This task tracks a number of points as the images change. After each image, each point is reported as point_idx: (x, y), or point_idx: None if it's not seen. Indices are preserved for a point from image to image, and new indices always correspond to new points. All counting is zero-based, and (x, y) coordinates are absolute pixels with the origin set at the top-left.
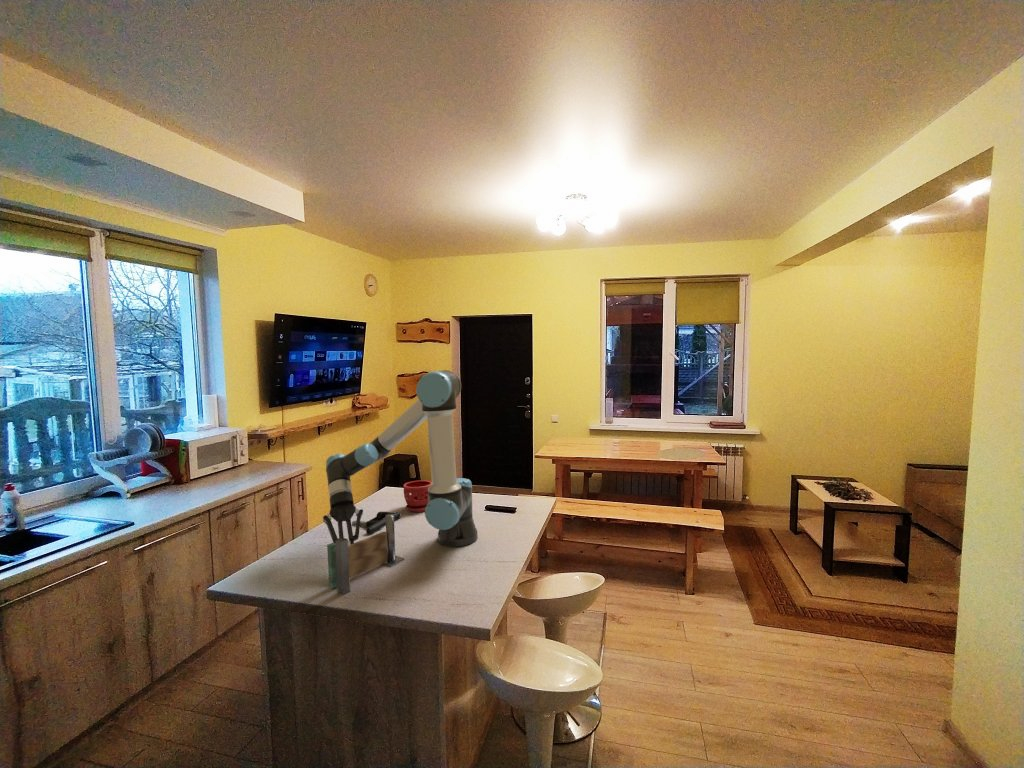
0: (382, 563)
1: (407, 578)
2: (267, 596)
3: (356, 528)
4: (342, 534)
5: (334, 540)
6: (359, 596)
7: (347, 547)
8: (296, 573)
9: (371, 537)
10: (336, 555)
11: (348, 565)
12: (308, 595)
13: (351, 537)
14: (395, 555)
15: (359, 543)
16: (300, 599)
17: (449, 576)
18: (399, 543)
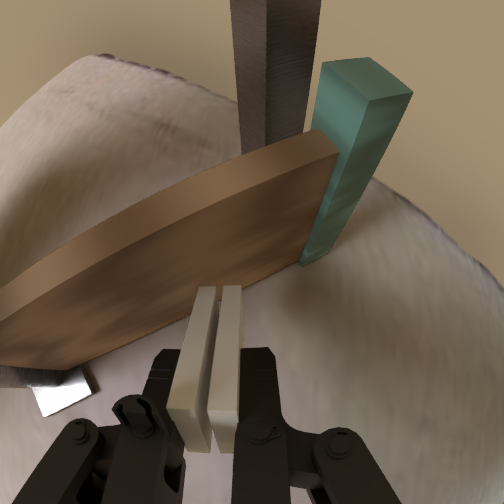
0: (82, 367)
1: (61, 206)
2: (496, 289)
3: (51, 499)
4: (244, 499)
5: (352, 434)
6: (218, 154)
7: (235, 17)
8: (443, 441)
9: (4, 296)
10: (310, 63)
11: (240, 112)
12: (394, 235)
13: (136, 410)
14: (35, 394)
15: (100, 226)
16: (412, 221)
17: (8, 181)
18: None
